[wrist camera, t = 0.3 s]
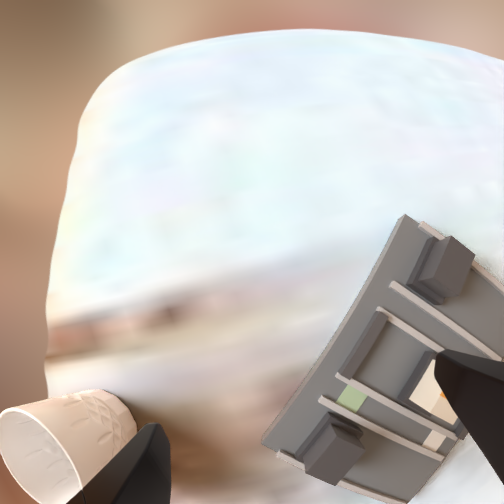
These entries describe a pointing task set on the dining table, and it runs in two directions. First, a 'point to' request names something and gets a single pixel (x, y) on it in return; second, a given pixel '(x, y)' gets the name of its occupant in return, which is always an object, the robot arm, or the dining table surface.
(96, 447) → the white cup
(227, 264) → the dining table surface
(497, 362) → the robot arm
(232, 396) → the dining table surface
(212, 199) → the dining table surface
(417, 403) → the breaker
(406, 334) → the breaker panel
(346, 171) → the dining table surface
